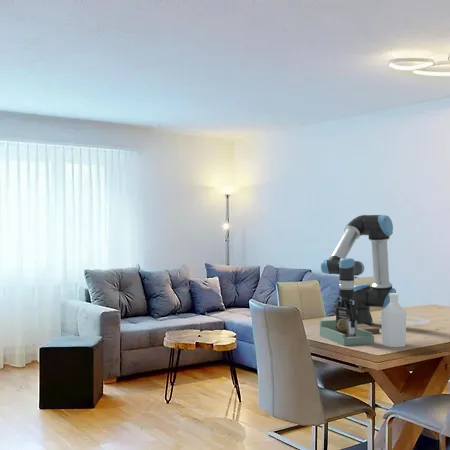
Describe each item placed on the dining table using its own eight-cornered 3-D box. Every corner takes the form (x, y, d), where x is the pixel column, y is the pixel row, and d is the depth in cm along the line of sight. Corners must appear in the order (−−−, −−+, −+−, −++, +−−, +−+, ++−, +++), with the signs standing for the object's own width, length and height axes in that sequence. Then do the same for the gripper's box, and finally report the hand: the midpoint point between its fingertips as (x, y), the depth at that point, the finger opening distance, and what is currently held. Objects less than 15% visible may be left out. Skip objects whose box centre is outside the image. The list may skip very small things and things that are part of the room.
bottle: (395, 348, 283) (396, 295, 283) (375, 343, 293) (376, 293, 292) (411, 345, 290) (411, 294, 290) (391, 341, 299) (391, 291, 299)
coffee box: (335, 338, 304) (335, 307, 304) (343, 337, 308) (343, 306, 308) (349, 341, 297) (349, 309, 297) (357, 340, 301) (357, 308, 301)
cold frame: (319, 335, 312) (319, 320, 312) (348, 334, 317) (348, 319, 317) (343, 345, 288) (343, 328, 288) (374, 343, 293) (374, 327, 293)
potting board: (338, 329, 330) (338, 325, 330) (363, 328, 335) (363, 323, 335) (353, 334, 315) (353, 330, 315) (379, 333, 320) (379, 328, 320)
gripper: (329, 286, 312) (328, 328, 312) (351, 291, 290) (351, 336, 290) (341, 285, 314) (341, 327, 315) (365, 290, 293) (364, 335, 293)
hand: (346, 331), depth 302 cm, fingers closed on coffee box, 10 cm apart
